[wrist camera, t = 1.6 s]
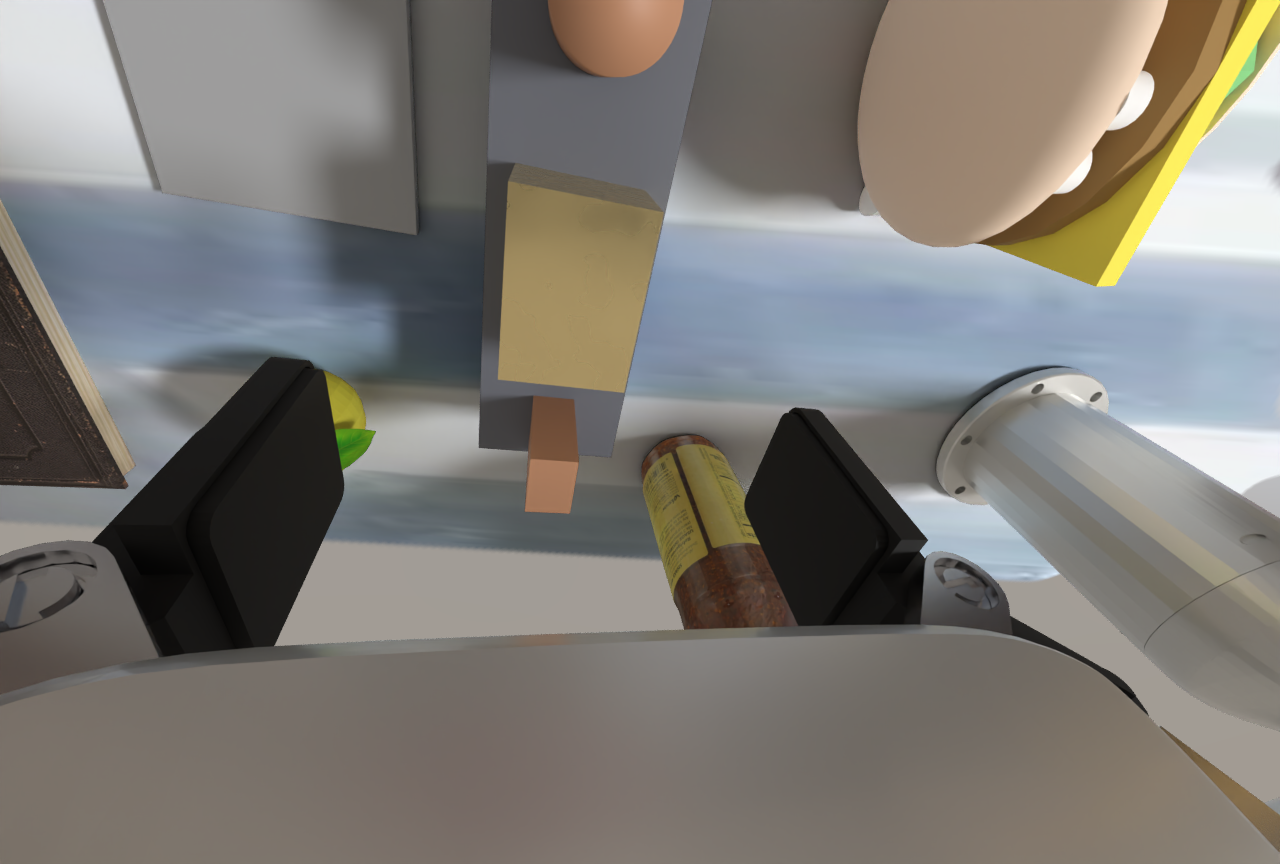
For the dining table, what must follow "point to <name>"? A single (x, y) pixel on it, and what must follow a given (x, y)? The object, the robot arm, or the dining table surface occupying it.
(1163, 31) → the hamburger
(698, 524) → the sauce bottle
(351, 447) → the lemon
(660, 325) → the dining table surface
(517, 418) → the plane body
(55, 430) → the hardcover book
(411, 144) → the mat
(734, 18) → the dining table surface
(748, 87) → the dining table surface
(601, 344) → the tan rectangular block
